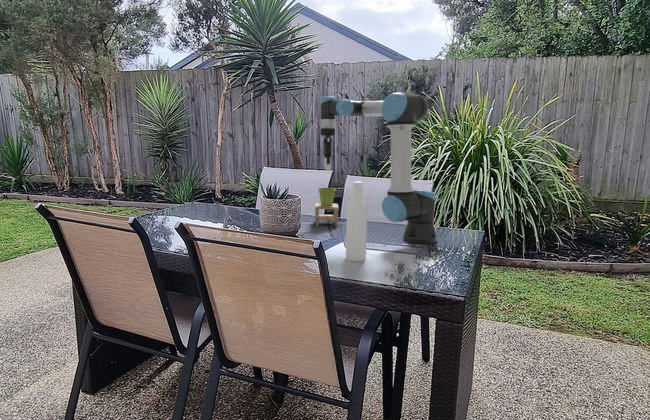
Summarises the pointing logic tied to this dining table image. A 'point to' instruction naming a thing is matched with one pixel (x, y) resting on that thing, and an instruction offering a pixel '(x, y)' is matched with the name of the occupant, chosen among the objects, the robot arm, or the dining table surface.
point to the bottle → (356, 226)
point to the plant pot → (326, 196)
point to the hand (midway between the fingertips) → (327, 169)
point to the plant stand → (326, 217)
